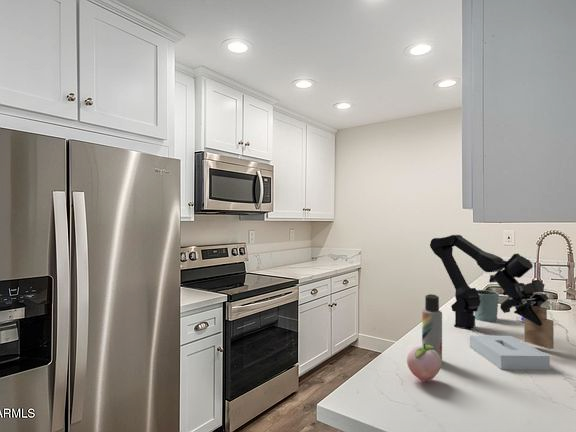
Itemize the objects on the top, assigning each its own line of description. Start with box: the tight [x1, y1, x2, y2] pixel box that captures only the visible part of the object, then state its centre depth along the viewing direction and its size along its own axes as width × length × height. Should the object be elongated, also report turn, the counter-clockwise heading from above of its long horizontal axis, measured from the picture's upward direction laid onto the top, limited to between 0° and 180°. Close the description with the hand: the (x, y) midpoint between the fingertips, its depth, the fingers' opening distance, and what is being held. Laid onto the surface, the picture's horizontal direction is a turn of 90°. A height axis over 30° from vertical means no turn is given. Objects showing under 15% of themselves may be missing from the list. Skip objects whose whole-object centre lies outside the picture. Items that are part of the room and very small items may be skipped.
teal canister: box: [474, 289, 500, 323], centre depth 155 cm, size 10×10×12 cm
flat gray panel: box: [469, 334, 551, 371], centre depth 111 cm, size 18×14×4 cm
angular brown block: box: [523, 306, 555, 350], centre depth 118 cm, size 8×2×12 cm, turn 25°
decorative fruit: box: [406, 344, 442, 383], centre depth 95 cm, size 9×8×10 cm
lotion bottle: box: [421, 293, 443, 363], centre depth 109 cm, size 6×6×20 cm
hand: (543, 324), depth 117 cm, fingers closed on angular brown block, 2 cm apart
